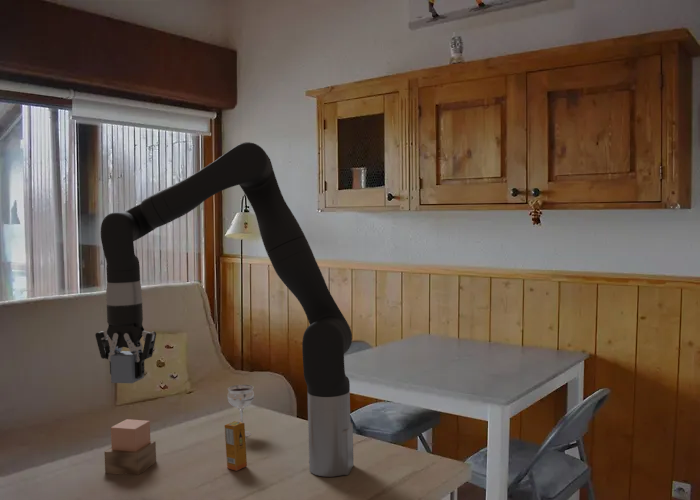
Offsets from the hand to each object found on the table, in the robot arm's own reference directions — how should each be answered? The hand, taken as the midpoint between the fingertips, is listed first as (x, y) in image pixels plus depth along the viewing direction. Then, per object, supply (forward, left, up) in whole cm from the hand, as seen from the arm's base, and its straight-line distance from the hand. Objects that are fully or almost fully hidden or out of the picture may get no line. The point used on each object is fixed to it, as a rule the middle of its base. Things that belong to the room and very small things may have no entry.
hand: (127, 377), depth 147 cm
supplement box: (-24, -3, -21) cm, 32 cm away
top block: (0, 0, -16) cm, 16 cm away
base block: (0, 0, -21) cm, 21 cm away
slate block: (0, 0, -1) cm, 1 cm away
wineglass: (-17, -25, -21) cm, 37 cm away
